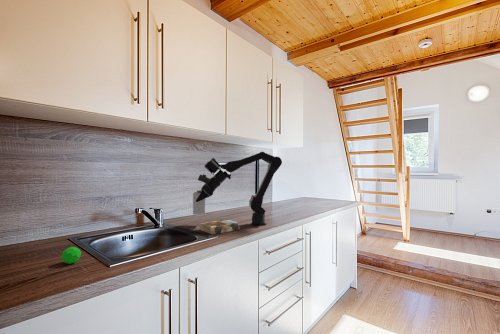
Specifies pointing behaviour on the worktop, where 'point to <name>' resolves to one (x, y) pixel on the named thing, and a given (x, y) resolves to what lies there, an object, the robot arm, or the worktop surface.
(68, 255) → the polyhedron
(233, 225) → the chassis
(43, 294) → the worktop surface
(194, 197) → the grey rectangular block
